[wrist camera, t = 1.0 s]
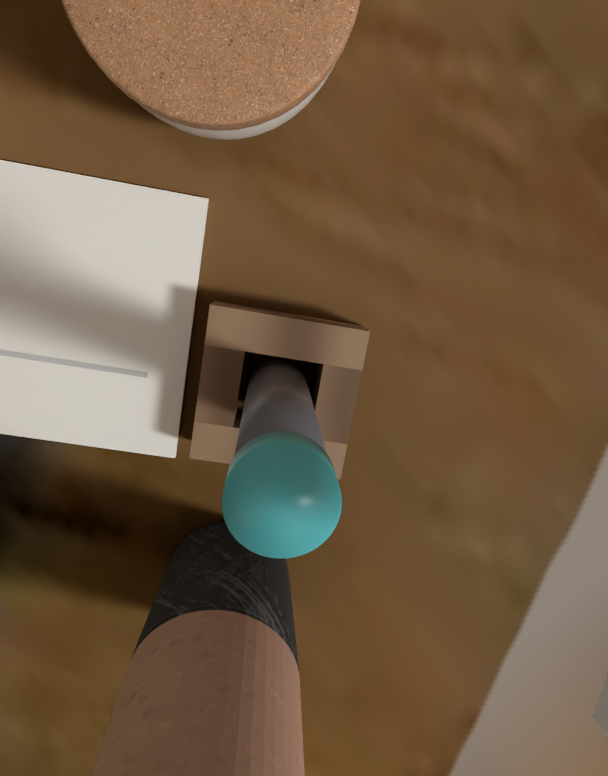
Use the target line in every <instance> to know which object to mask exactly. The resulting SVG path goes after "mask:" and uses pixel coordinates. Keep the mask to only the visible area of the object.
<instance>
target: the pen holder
mask: <svg viewBox="0 0 608 776" xmlns="http://www.w3.org/2000/svg"><path fill="white" fill-rule="evenodd" d="M369 335H370V331H369V330H367V329H366V328H365V327H363V326H362V325H356V324H350V323H344V322H338V321H332V320H326V319H320V318H315V317H309V316H303V315H297V314H291V313H285V312H279V311H273V310H267V309H261V308H256V307H250V306H244V305H238V304H232V303H226V302H220V301H214V302H213V303H211V304H210V307H209V315H208V322H207V329H206V337H205V344H204V352H203V359H202V367H201V374H200V382H199V389H198V397H197V404H196V412H195V419H194V427H193V434H192V442H191V449H190V456H189V458H191V459H198V460H205V461H213V462H220V463H227V464H231V462H232V460H233V458H234V454H235V449H236V444H237V439H238V434H239V429H240V423H241V418H242V415H241V414H236V413H237V407H238V400H239V394H240V387H241V380H242V374H243V367H244V361H245V354H246V352H252V353H258V354H264V355H270V356H277V357H283V358H289V359H295V360H301V361H308V362H314V363H318V366H317V372H316V377H315V383H314V388H313V394H312V403H313V406H314V410H315V413H316V417H317V421H318V424H319V428H320V431H321V435H322V439H323V442H324V446H325V449H326V453H327V454H328V456H329V458H330V459H331V462H332V464H333V467H334V470H335V473H336V477H337V479H341V474H342V469H343V464H344V459H345V454H346V449H347V444H348V439H349V434H350V429H351V424H352V419H353V414H354V409H355V404H356V399H357V394H358V389H359V384H360V379H361V374H362V369H363V365H364V360H365V355H366V350H367V345H368V340H369Z"/></svg>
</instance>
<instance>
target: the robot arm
mask: <svg viewBox="0 0 608 776" xmlns="http://www.w3.org/2000/svg"><path fill="white" fill-rule="evenodd" d="M593 717H594V719H595V720H596V722H597V723H598V725H599V726H600V727H601V729H602V730H603V732H604V733H605V735H606V736H607V738H608V675H607V677H606V680H605V683H604V686H603V689H602V691H601V695H600V697H599V700H598V703H597V706H596V708H595V711H594V714H593Z"/></svg>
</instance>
